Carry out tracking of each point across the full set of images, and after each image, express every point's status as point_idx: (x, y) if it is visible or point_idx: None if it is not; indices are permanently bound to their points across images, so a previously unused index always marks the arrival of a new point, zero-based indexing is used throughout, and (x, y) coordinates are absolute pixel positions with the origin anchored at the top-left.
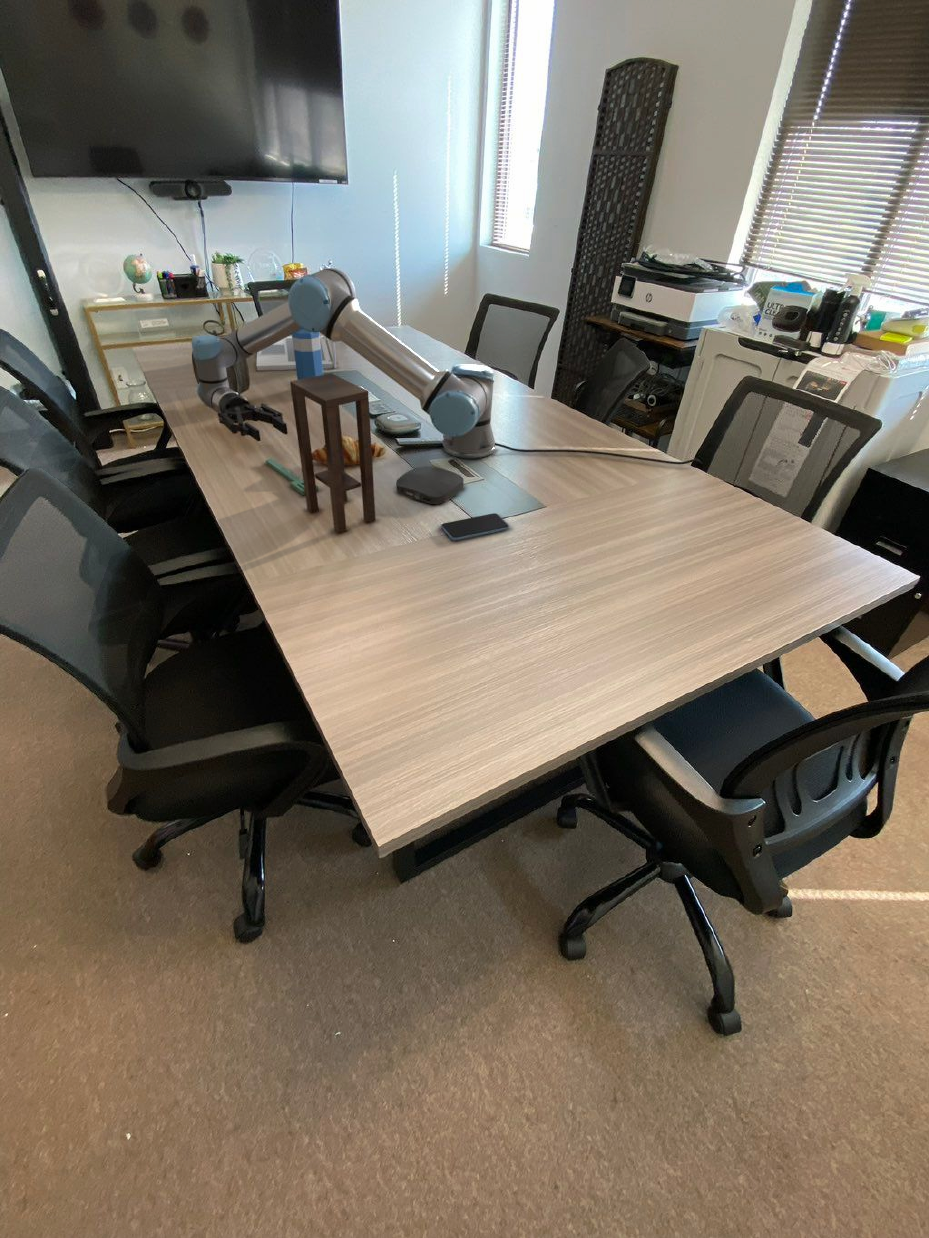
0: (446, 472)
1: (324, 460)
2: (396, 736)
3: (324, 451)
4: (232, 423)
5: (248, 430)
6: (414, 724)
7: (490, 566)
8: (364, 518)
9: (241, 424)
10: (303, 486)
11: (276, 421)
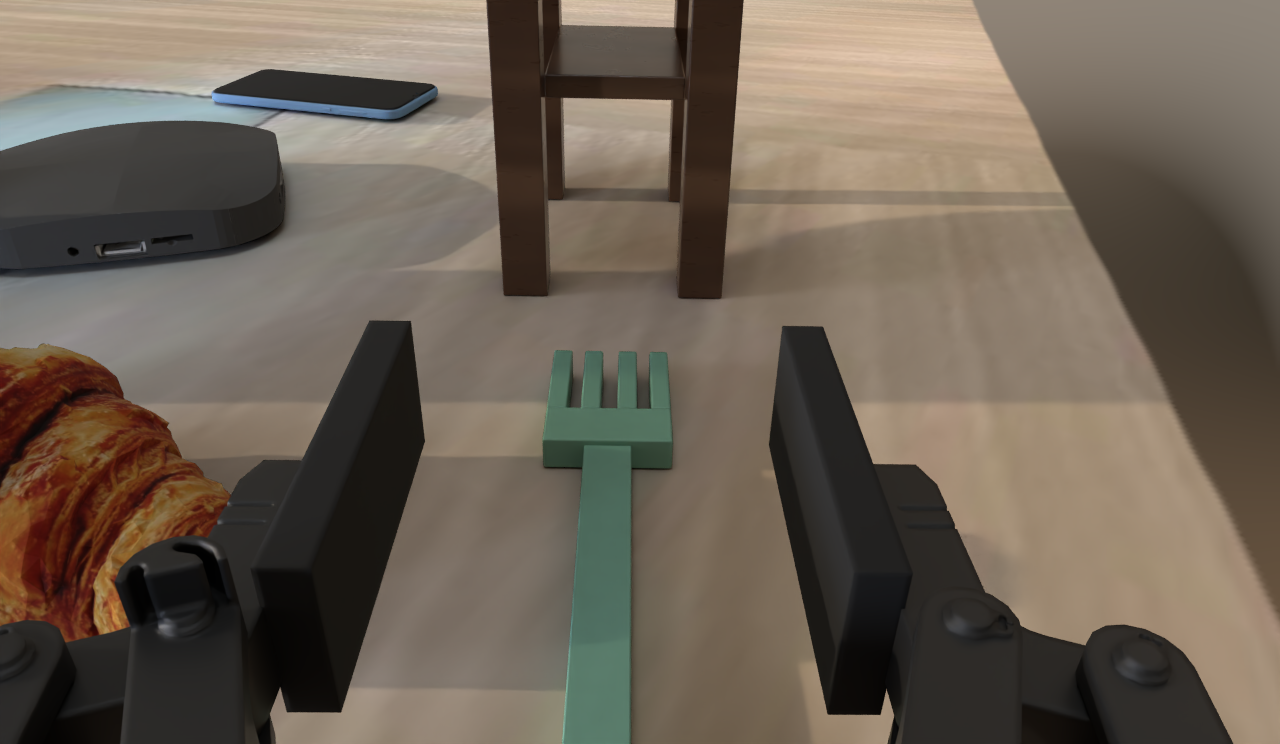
0: (9, 162)
1: None
2: (896, 11)
3: (168, 483)
4: (1161, 655)
5: (887, 475)
6: (864, 11)
7: (465, 58)
8: (563, 188)
9: (970, 591)
10: (628, 378)
11: (364, 470)
